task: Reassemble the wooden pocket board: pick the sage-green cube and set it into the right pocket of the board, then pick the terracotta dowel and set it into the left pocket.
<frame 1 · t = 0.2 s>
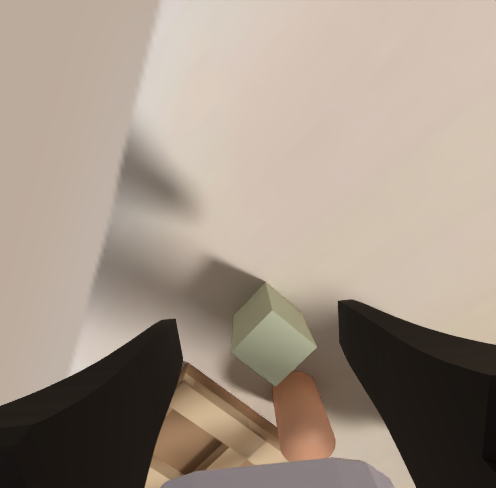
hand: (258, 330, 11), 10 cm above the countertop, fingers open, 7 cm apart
pocket board: (218, 449, 25), on the countertop
sage cube: (267, 313, 22), on the countertop
terracotta dowel: (294, 390, 23), on the countertop
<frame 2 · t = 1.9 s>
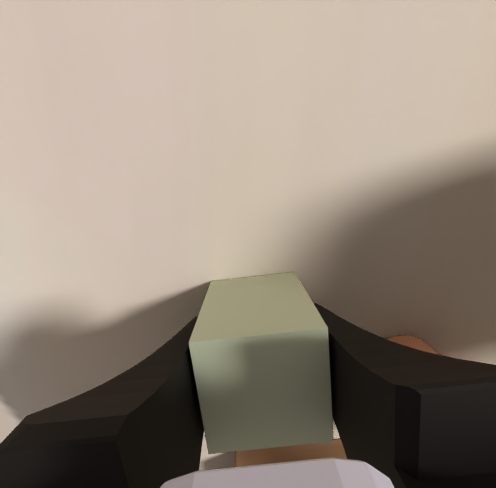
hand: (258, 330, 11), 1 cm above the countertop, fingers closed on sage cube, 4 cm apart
sage cube: (257, 314, 13), on the countertop, touching gripper
terracotta dowel: (398, 370, 13), on the countertop
when the fingers open (4 cm above the countertop, at t = 4.7 s): sage cube stays where it is, resting on pocket board.
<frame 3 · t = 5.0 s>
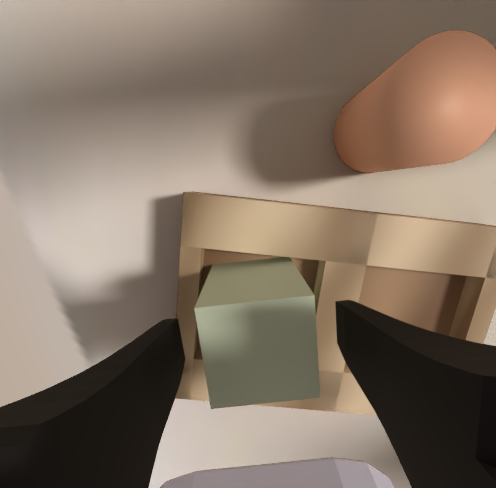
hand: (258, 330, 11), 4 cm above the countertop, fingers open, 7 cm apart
pocket board: (322, 301, 15), on the countertop
sage cube: (254, 295, 14), point 1 cm above the countertop, touching pocket board
terracotta dowel: (372, 132, 13), on the countertop
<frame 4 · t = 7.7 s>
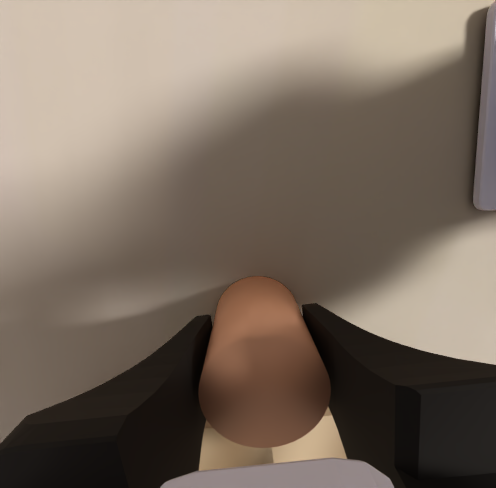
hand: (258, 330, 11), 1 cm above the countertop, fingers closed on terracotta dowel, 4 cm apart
pocket board: (256, 468, 15), on the countertop
terracotta dowel: (257, 314, 13), on the countertop, touching gripper
when the fingers open (4 cm above the countertop, at t = 10.3 s): terracotta dowel stays where it is, resting on pocket board.
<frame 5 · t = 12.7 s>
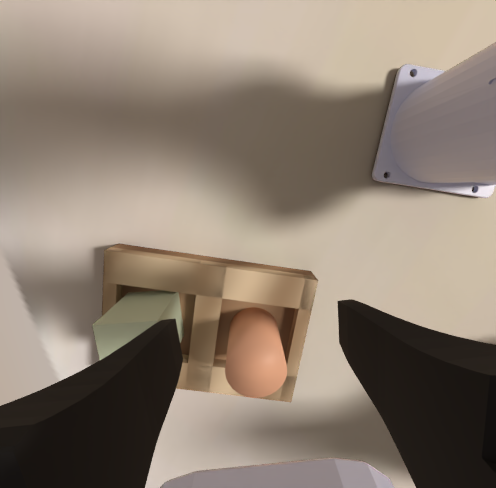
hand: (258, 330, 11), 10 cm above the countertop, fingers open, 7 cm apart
pocket board: (208, 317, 22), on the countertop
sage cube: (156, 313, 21), point 1 cm above the countertop, touching pocket board
terracotta dowel: (253, 329, 21), point 1 cm above the countertop, touching pocket board
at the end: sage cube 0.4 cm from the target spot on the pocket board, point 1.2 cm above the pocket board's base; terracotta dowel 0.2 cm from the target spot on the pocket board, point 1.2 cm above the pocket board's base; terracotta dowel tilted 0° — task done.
